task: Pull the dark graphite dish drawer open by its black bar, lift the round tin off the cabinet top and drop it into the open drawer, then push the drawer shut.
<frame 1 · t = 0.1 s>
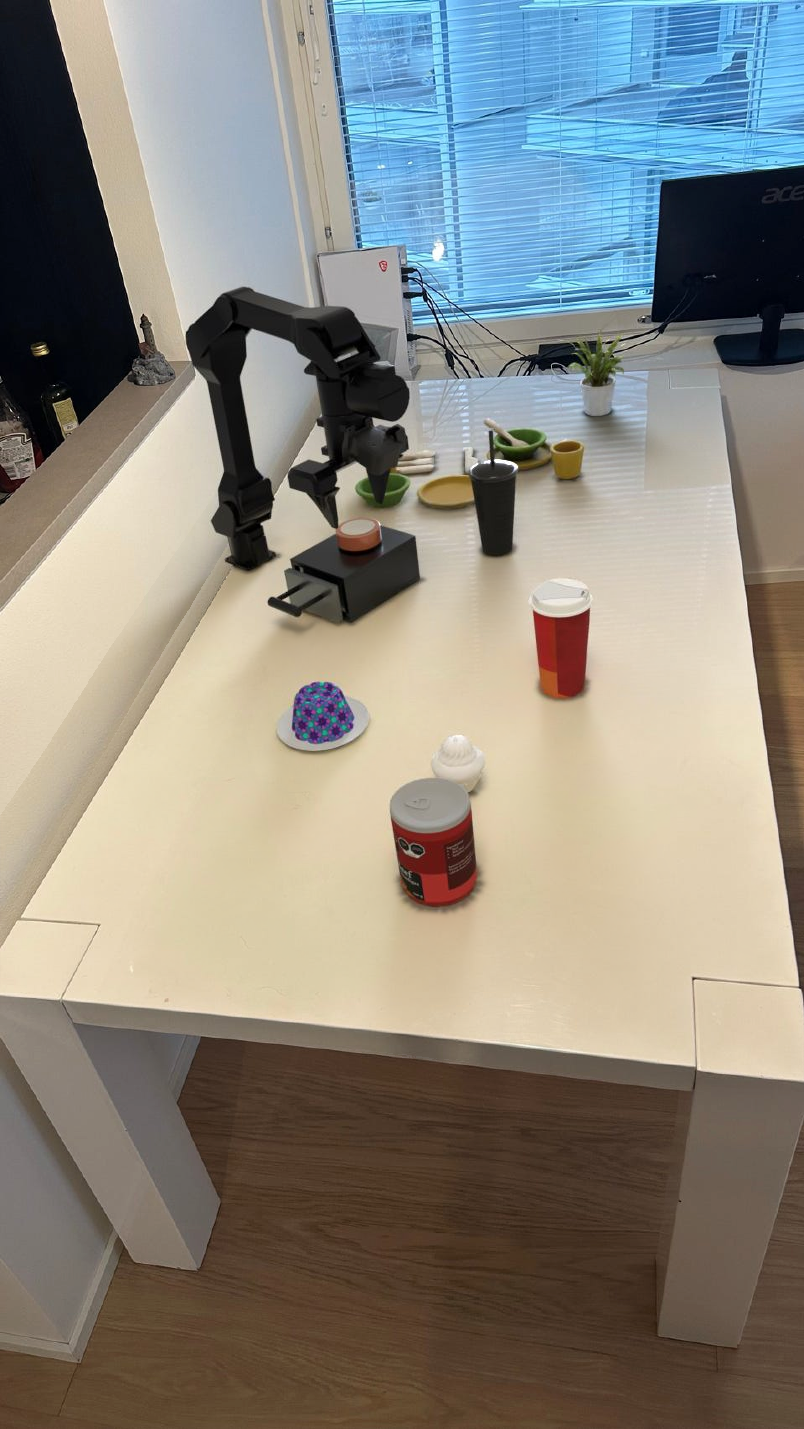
hand: (357, 515, 145), 15 cm above the table, tool pointing down, fingers open, 9 cm apart
muffin: (460, 787, 117), on the table
house plant: (591, 413, 208), on the table
pudding: (324, 727, 130), on the table
cabinet: (359, 591, 157), on the table
tableware set: (471, 479, 188), on the table
canned food: (439, 882, 105), on the table
round tin: (359, 543, 154), point 8 cm above the table, touching cabinet
drinking cup: (497, 550, 164), on the table
drawer: (331, 584, 152), point 4 cm above the table, slide at 0.8 cm
paper cup: (562, 687, 131), on the table
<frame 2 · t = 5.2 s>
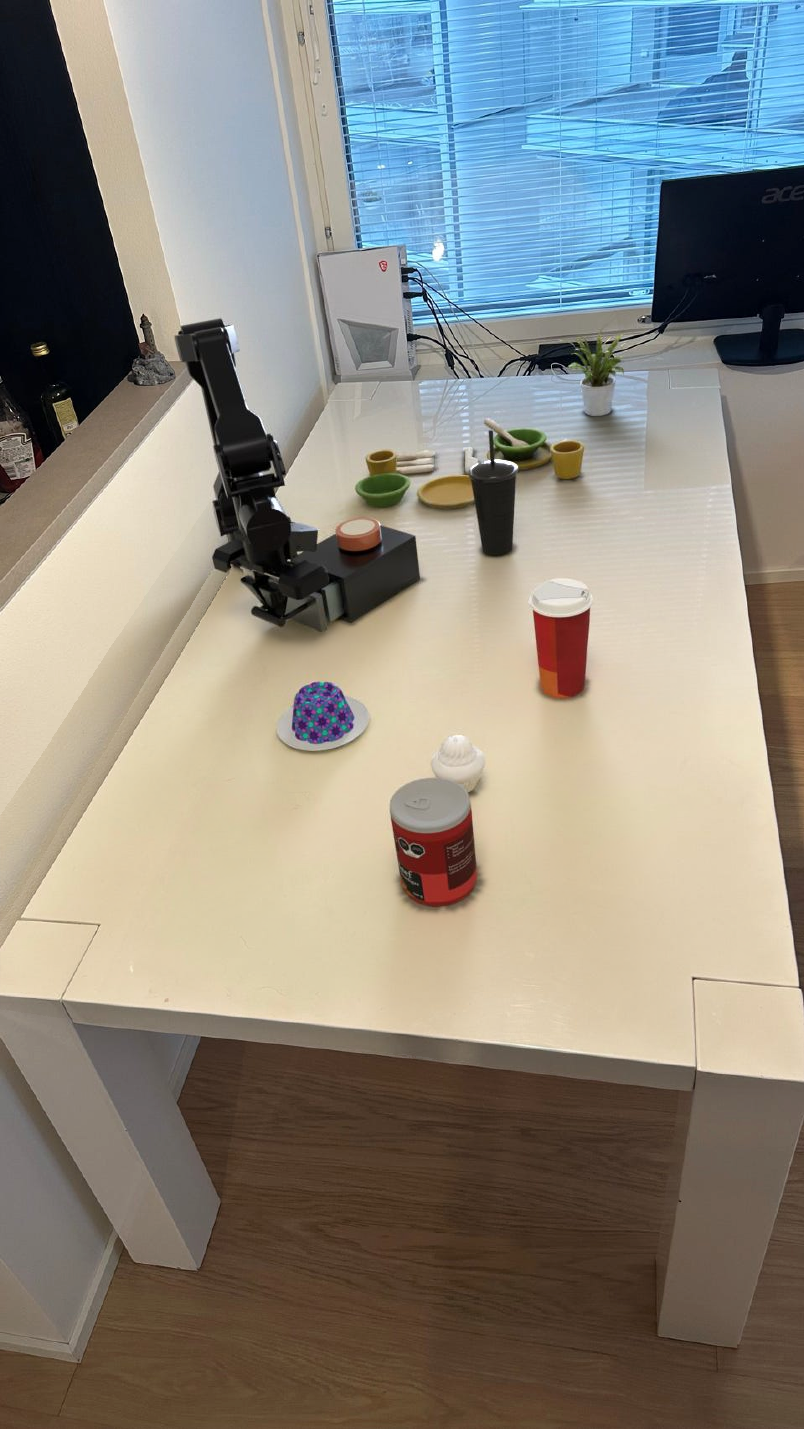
hand: (280, 619, 147), 3 cm above the table, tool pointing down, fingers closed, pressing on drawer
drawer: (316, 593, 150), point 4 cm above the table, slide at 4.0 cm, touching gripper
everything else where it was.
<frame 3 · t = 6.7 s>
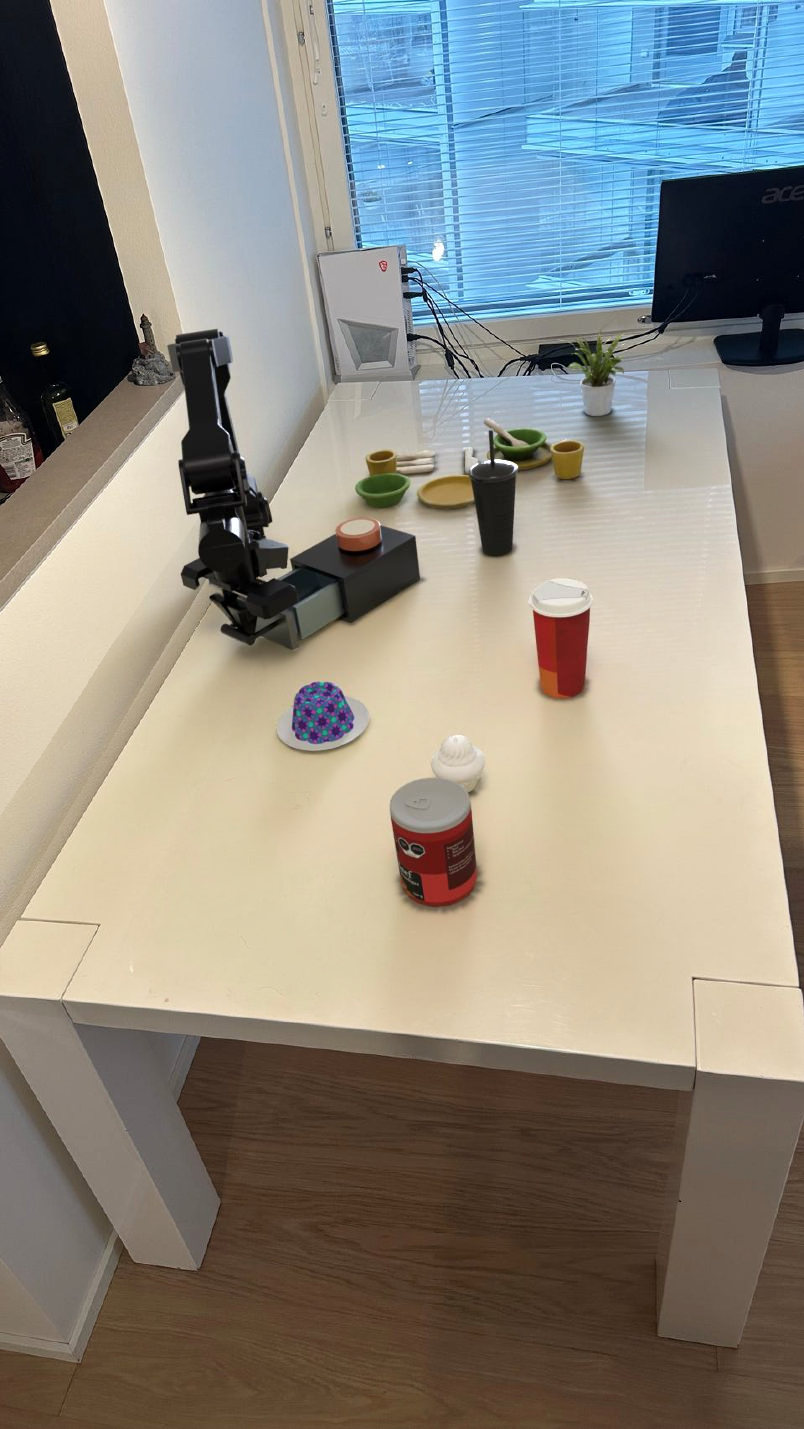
hand: (250, 637, 143), 3 cm above the table, tool pointing down, fingers closed, pressing on drawer
drawer: (287, 610, 147), point 4 cm above the table, slide at 9.7 cm, touching gripper
everything else where it was.
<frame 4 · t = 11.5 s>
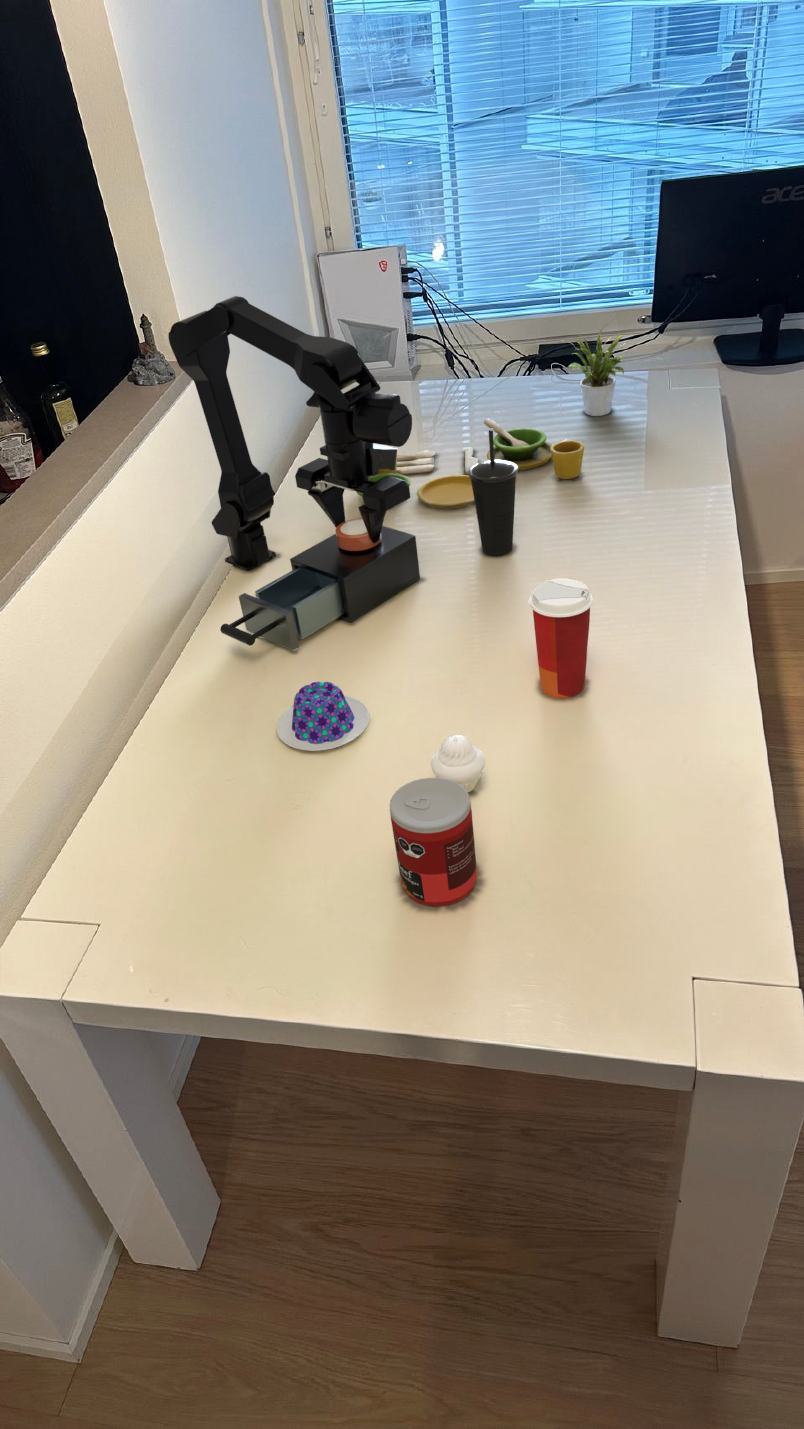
hand: (358, 536, 153), 9 cm above the table, tool pointing down, fingers closed on round tin, 7 cm apart
round tin: (359, 543, 154), point 8 cm above the table, touching cabinet, gripper
drawer: (287, 610, 147), point 4 cm above the table, slide at 9.7 cm
everything else where it was.
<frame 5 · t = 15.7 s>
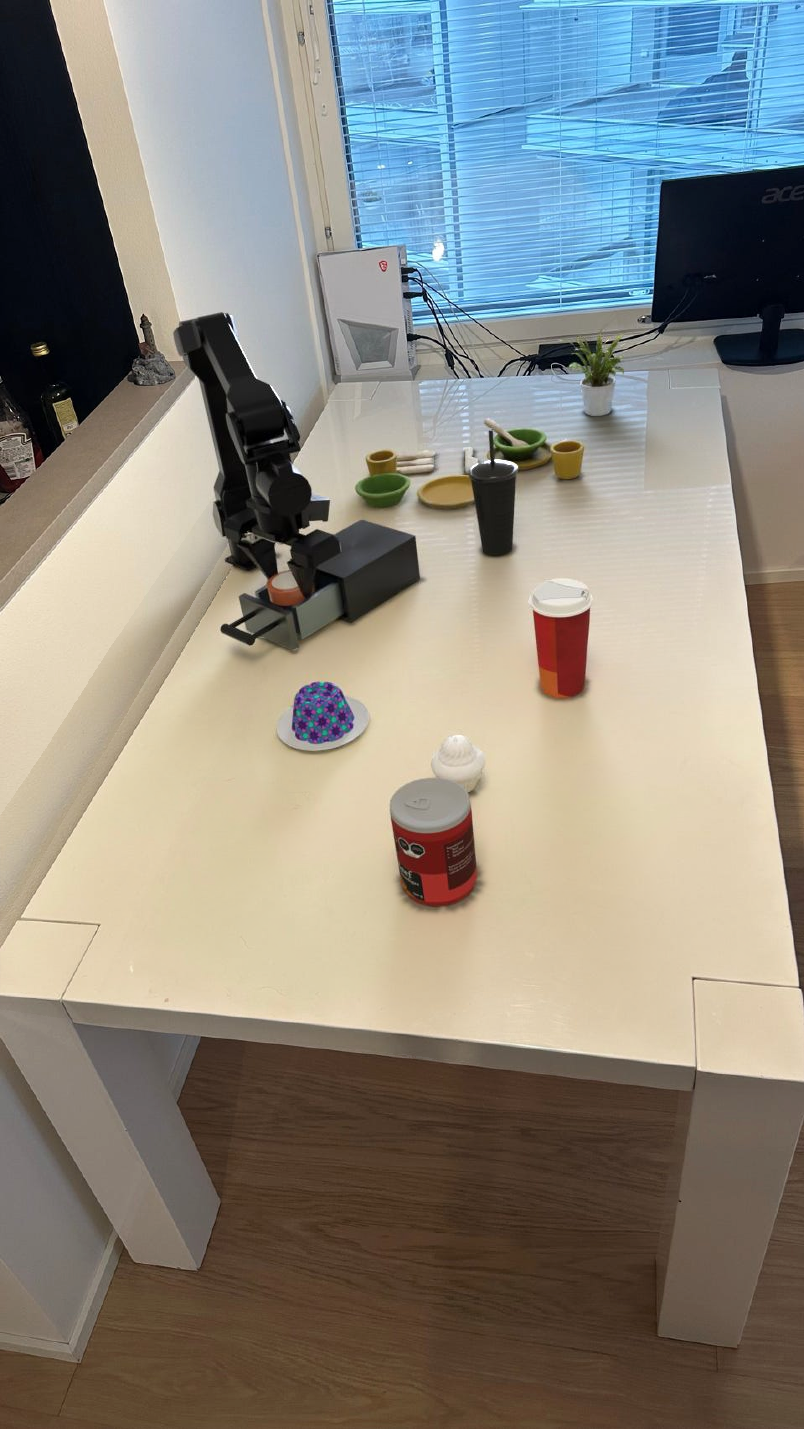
hand: (291, 589, 146), 6 cm above the table, tool pointing down, fingers closed on round tin, 7 cm apart
round tin: (292, 596, 147), point 5 cm above the table, touching gripper
drawer: (287, 610, 147), point 4 cm above the table, slide at 9.7 cm, touching gripper
everything else where it was.
when the fingers open (7 cm above the table, at t = 23.0 s): round tin drops 4 cm, resting on drawer.
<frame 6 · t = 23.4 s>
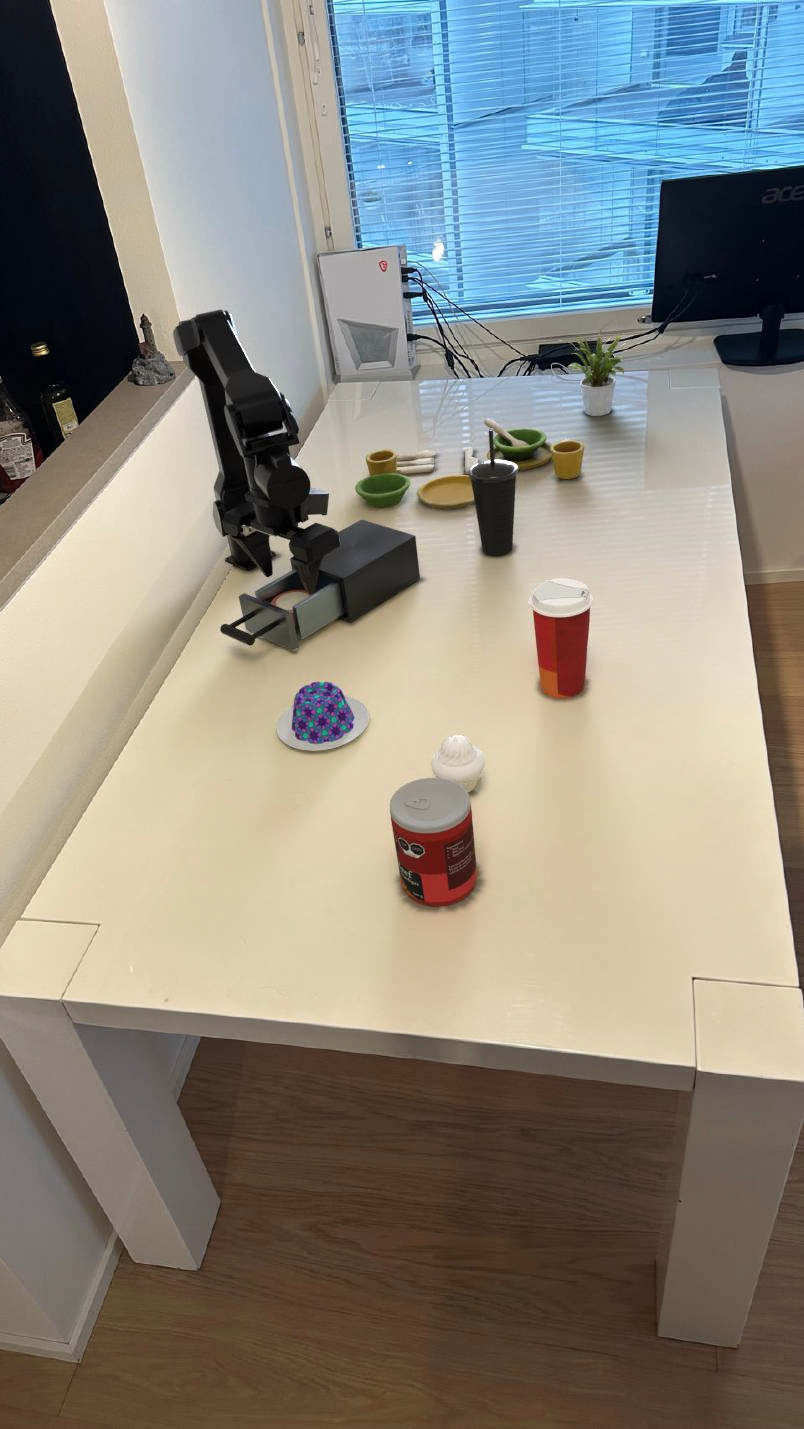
hand: (290, 584, 146), 7 cm above the table, tool pointing down, fingers open, 9 cm apart
round tin: (296, 616, 149), point 2 cm above the table, touching drawer
drawer: (287, 610, 147), point 4 cm above the table, slide at 9.8 cm, touching round tin
everything else where it was.
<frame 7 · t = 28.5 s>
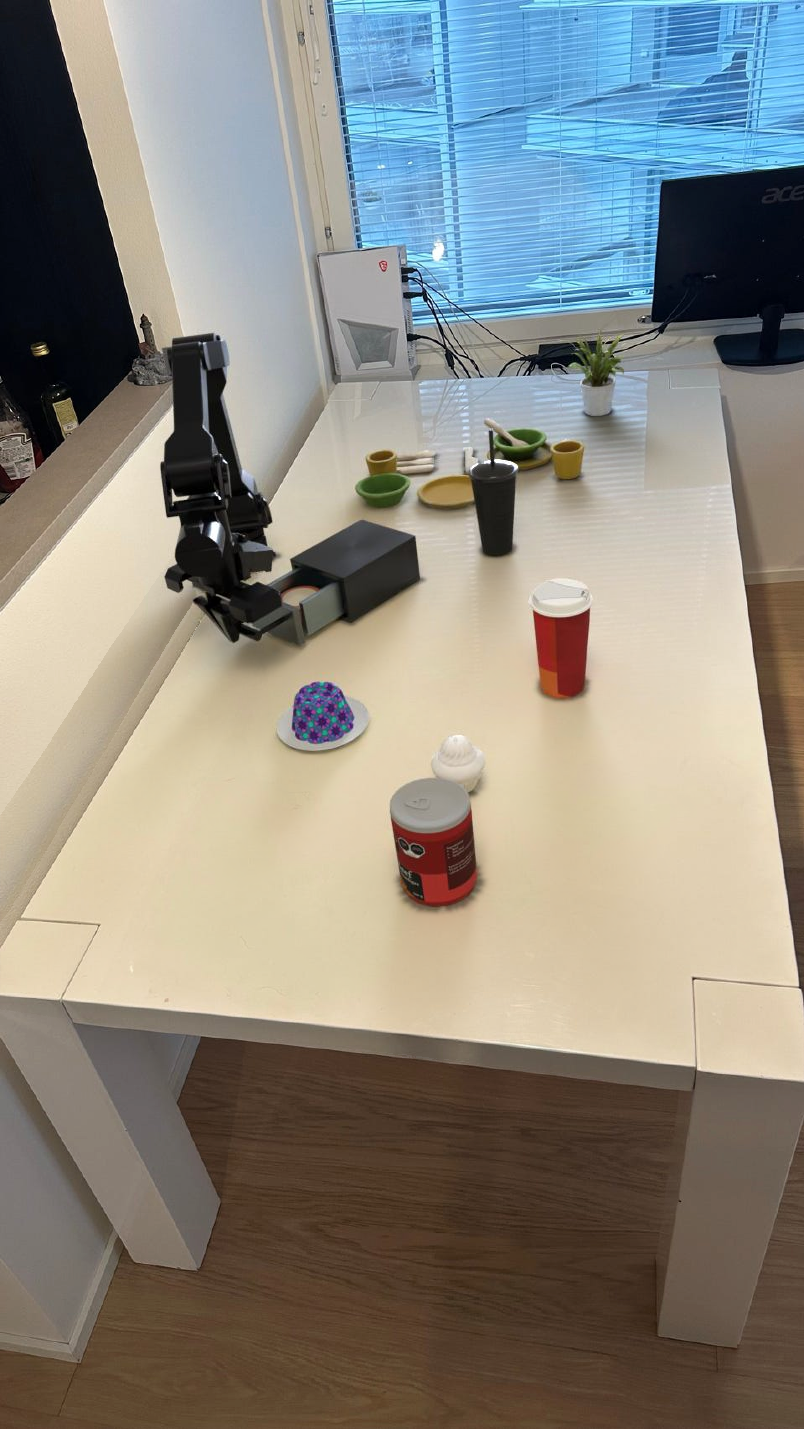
hand: (234, 641, 142), 3 cm above the table, tool pointing down, fingers closed, pressing on drawer
round tin: (303, 612, 150), point 2 cm above the table, touching drawer
drawer: (294, 606, 148), point 4 cm above the table, slide at 8.4 cm, touching gripper, round tin
everything else where it was.
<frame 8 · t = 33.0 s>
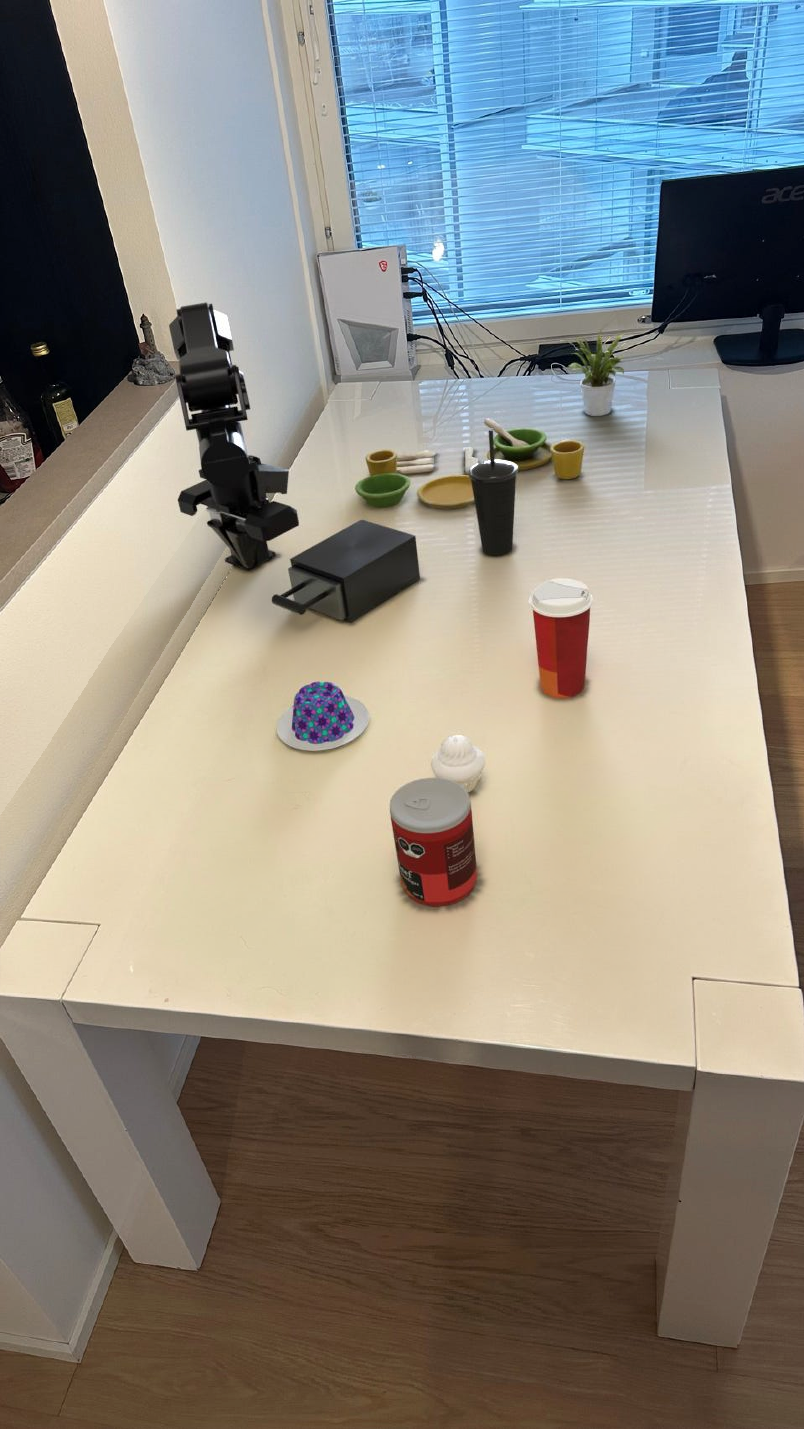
hand: (249, 566, 140), 13 cm above the table, tool pointing down, fingers closed
round tin: (343, 588, 154), point 2 cm above the table, touching drawer
drawer: (335, 582, 153), point 4 cm above the table, slide at 0.0 cm, touching round tin
everything else where it was.
at the end: drawer pulled out 9.8 cm at the most during the clip, back to where it started at the end; round tin inside the target area in the cabinet (3.2 cm from its centre), point 2.0 cm above the cabinet's base; drawer slide at 0.0 cm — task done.
